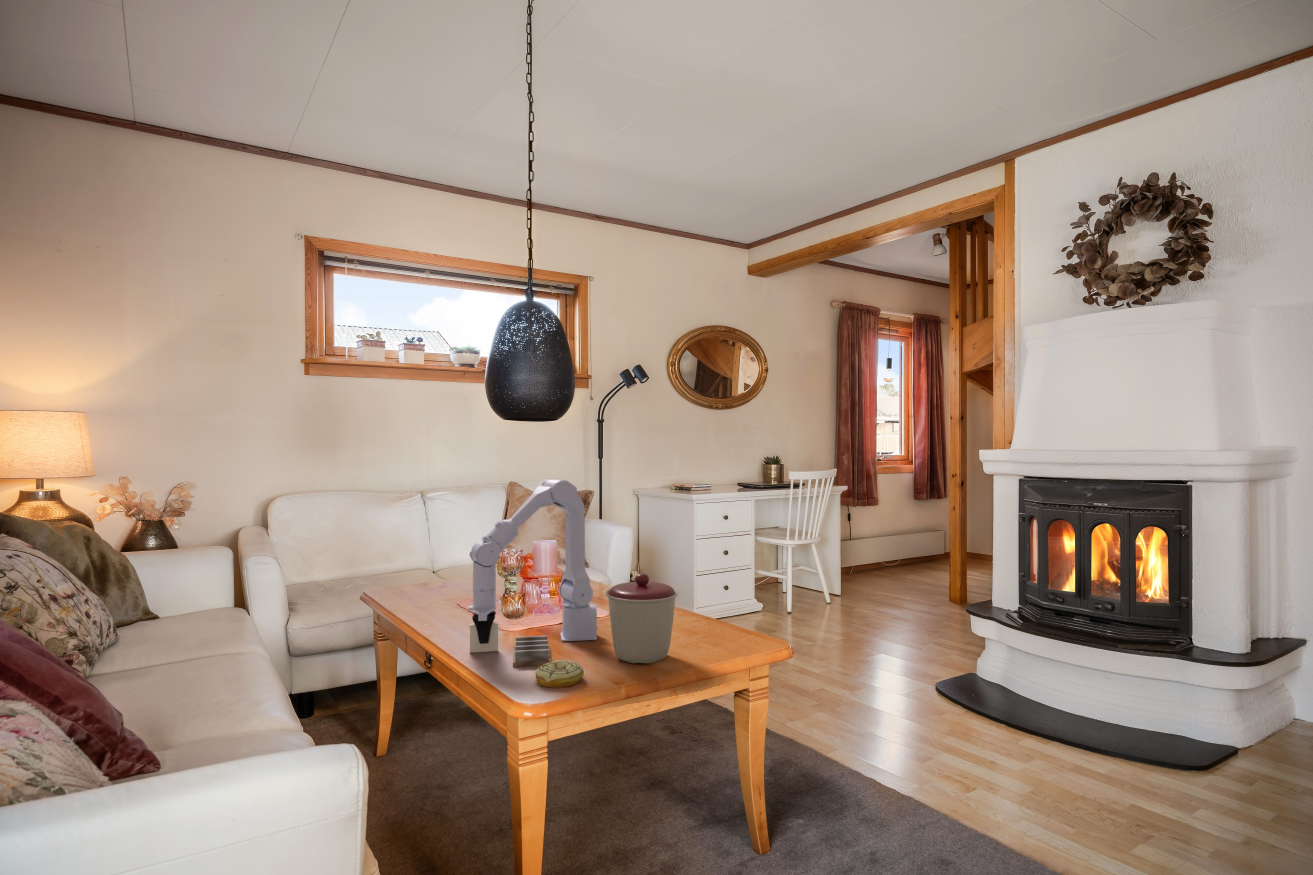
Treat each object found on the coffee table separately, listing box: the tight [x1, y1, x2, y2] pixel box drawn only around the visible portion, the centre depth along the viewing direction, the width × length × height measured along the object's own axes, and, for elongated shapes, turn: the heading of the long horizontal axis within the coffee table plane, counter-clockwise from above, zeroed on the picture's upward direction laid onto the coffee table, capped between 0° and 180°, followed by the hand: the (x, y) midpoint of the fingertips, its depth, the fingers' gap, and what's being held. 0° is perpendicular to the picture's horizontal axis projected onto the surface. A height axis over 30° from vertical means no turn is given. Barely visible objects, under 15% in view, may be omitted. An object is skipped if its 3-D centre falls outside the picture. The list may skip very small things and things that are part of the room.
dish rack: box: [512, 635, 552, 668], centre depth 179 cm, size 9×14×4 cm, turn 10°
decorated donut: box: [534, 659, 585, 689], centre depth 162 cm, size 10×11×4 cm
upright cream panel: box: [469, 621, 499, 653], centre depth 183 cm, size 7×2×7 cm, turn 100°
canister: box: [605, 573, 679, 664], centre depth 179 cm, size 18×18×21 cm
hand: (484, 641), depth 183 cm, fingers closed on upright cream panel, 2 cm apart
